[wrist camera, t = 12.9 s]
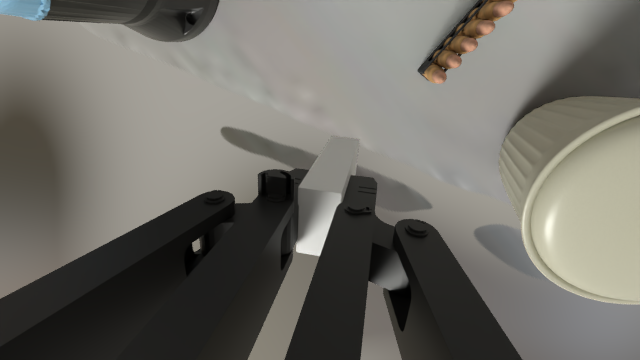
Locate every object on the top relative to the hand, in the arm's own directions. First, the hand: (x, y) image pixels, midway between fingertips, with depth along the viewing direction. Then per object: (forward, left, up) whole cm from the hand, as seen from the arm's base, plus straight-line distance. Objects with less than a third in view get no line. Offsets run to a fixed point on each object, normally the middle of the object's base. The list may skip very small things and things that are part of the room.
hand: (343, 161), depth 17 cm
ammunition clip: (+9, +7, -27) cm, 29 cm away
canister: (+23, -5, -27) cm, 36 cm away
